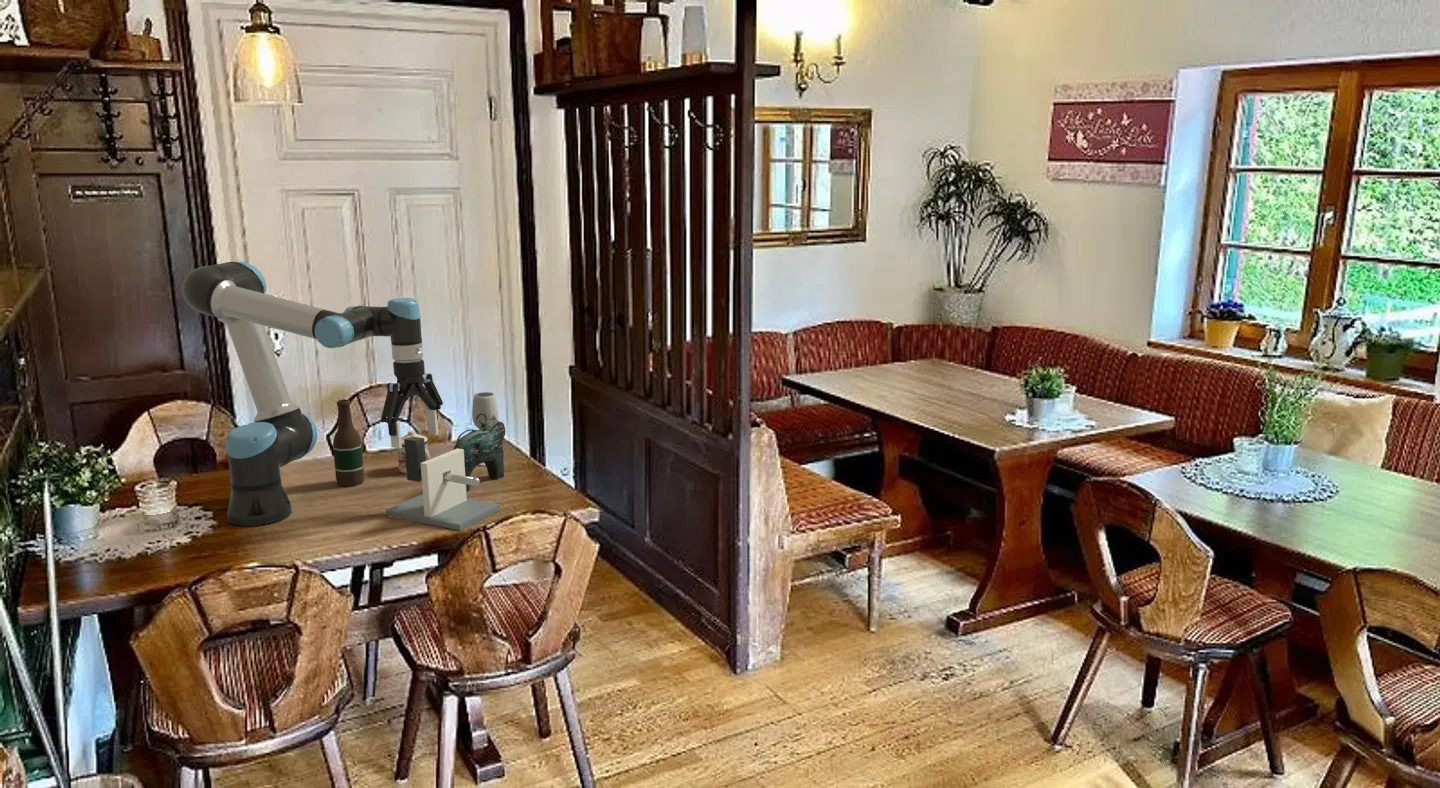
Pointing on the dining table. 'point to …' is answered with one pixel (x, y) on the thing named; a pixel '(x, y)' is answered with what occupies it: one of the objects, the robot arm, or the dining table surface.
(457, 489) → the panel with square hole
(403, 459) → the teacup with lid
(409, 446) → the hook rod
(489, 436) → the green animal figurine
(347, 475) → the beer bottle
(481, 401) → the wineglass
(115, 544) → the dining table surface
